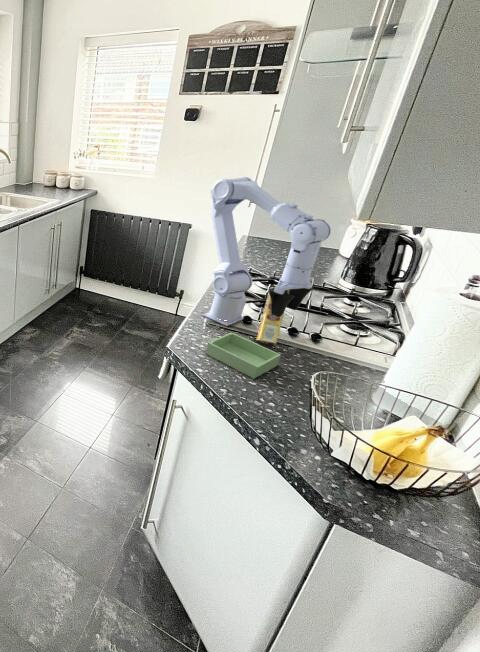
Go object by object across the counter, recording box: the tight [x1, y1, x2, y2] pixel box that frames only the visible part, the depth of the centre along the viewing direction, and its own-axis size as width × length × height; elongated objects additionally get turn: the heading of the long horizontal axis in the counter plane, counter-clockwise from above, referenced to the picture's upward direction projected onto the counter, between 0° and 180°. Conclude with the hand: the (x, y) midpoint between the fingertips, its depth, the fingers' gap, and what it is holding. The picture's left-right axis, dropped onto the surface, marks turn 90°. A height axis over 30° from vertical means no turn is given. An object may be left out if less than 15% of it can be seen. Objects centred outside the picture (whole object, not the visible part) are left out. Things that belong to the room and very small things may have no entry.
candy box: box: [255, 286, 290, 345], centre depth 118 cm, size 9×4×15 cm, turn 147°
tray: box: [204, 331, 282, 379], centre depth 114 cm, size 11×13×4 cm
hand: (283, 311), depth 116 cm, fingers open, 7 cm apart
